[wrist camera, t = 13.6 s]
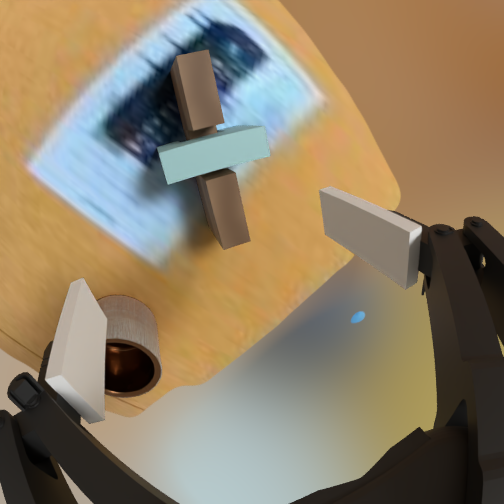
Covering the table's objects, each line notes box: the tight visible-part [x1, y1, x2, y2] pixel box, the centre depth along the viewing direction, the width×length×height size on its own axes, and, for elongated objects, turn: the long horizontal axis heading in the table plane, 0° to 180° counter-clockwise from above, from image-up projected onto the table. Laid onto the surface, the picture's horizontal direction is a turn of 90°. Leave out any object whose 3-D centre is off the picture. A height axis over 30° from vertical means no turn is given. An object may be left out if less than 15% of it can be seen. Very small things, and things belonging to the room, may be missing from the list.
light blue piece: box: [157, 126, 270, 185], centre depth 30 cm, size 10×3×9 cm, turn 101°
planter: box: [97, 295, 162, 398], centre depth 35 cm, size 11×11×10 cm
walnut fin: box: [170, 50, 250, 250], centre depth 30 cm, size 3×20×8 cm, turn 11°
